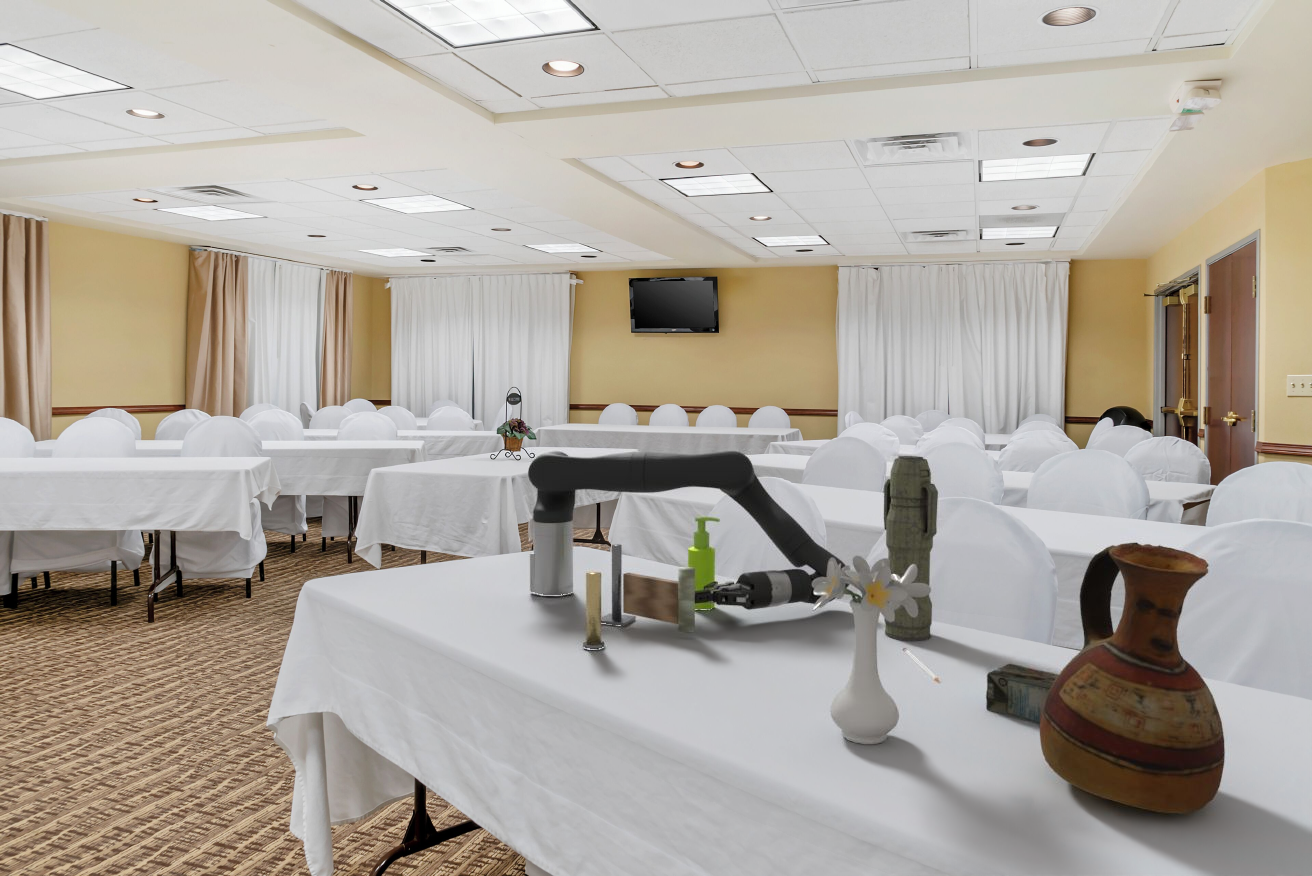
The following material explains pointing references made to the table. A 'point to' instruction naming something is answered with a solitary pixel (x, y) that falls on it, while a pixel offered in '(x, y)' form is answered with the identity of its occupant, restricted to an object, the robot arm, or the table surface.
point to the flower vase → (867, 642)
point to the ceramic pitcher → (1135, 691)
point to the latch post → (593, 611)
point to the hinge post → (617, 591)
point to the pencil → (921, 664)
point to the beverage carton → (1018, 691)
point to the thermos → (910, 538)
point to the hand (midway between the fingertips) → (690, 597)
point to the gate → (662, 598)
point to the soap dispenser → (702, 559)
